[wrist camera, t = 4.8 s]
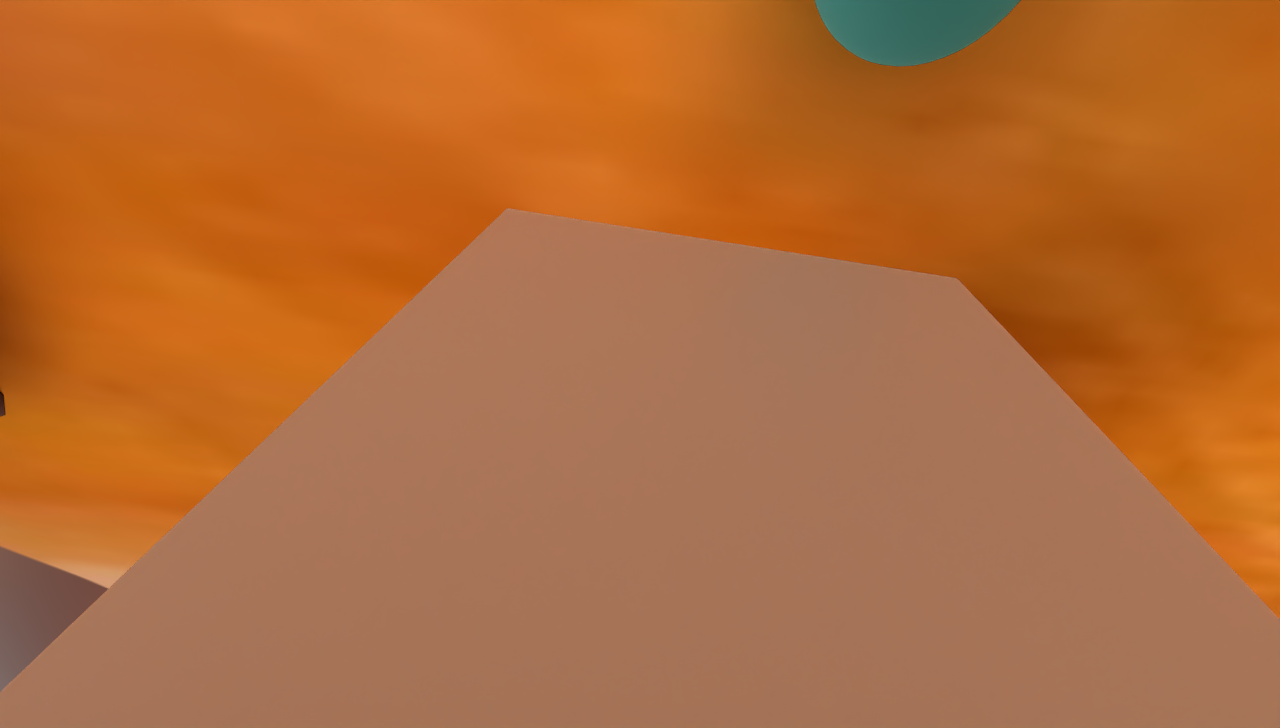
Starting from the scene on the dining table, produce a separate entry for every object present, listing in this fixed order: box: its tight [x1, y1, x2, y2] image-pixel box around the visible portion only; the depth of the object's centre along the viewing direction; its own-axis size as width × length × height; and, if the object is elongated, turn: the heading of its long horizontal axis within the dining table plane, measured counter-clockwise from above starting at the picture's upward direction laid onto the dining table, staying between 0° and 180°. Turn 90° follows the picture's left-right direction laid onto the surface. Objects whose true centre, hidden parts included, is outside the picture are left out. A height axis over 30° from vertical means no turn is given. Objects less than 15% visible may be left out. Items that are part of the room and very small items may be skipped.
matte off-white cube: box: [0, 208, 1280, 728], centre depth 7 cm, size 8×8×9 cm
